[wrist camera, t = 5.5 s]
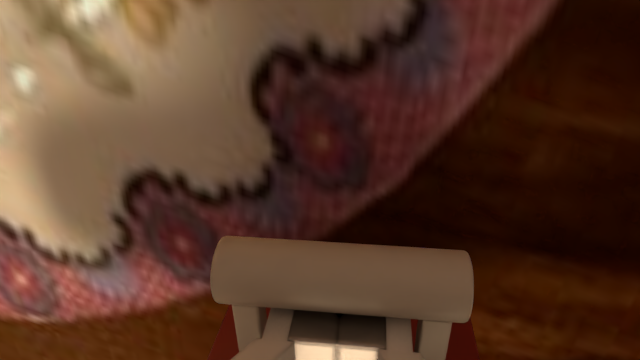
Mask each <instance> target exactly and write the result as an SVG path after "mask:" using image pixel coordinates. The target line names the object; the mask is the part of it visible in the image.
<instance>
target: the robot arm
mask: <svg viewBox="0 0 640 360" xmlns="http://www.w3.org/2000/svg"><path fill="white" fill-rule="evenodd" d="M231 360H425V359H424V357H423V356H422V355H421V354H420V353H415V352H413V345H412V331H411V319H405V318H393V317H380V316H368V315H356V314H343V313H331V312H318V311H306V310H294V309H281V308H271V309H270V313H269V316H268V320H267V323H266V326H265V330H264V333H263V337H262V339H257V338H255V339H254V340H253V341H252V342H251V343H249V344H248V345H247V346H246V347H245V348H244V349H242V350H241V351H240V352H239V353H238V354H236V355H235V356H234V357H233V358H232V359H231Z"/></svg>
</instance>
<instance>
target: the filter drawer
mask: <svg viewBox="0 0 640 360" xmlns="http://www.w3.org/2000/svg"><path fill="white" fill-rule="evenodd" d="M210 280H211V292H212V296H213V298H214V300H215V301H216V302H217V303H220V304H230V305H229V307H228V310H227V312H226V315H225V317H224V320H223V322H222V325H221V327H220V330H219V332H218V335H217V337H216V340H215V342H214V345H213V347H212V349H211V352H210V354H209V357H208V359H207V360H231V359H232V358H233V357H234V356H235V355H236V354H238V353H239V352H240V351H241V350H242V349H244V348H245V347H246V346H247V345H248V344H249V343H251V342H252V341H253V340H254V339H255V338H257V339H262V337H263V333H264V330H265V326H266V323H267V320H268V316H269V313H270V309H271V308H281V309H294V310H306V311H318V312H331V313H343V314H356V315H368V316H380V317H393V318H405V319H411V331H412V345H413V352H415V353H420V354H421V355H422V356H423V357H424V359H425V360H480V358H479V354H478V349H477V345H476V341H475V336H474V332H473V327H472V323H471V318H470V315H471V312H472V307H473V297H474V277H473V268H472V263H471V259H470V256H469V254H468V253H467V252H466V251H464V250H450V249H434V248H418V247H402V246H386V245H370V244H354V243H338V242H322V241H306V240H290V239H274V238H258V237H242V236H224V237H222V238H221V239H220V241H219V242H218V244H217V247H216V249H215V252H214V256H213V260H212V266H211V278H210Z"/></svg>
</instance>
